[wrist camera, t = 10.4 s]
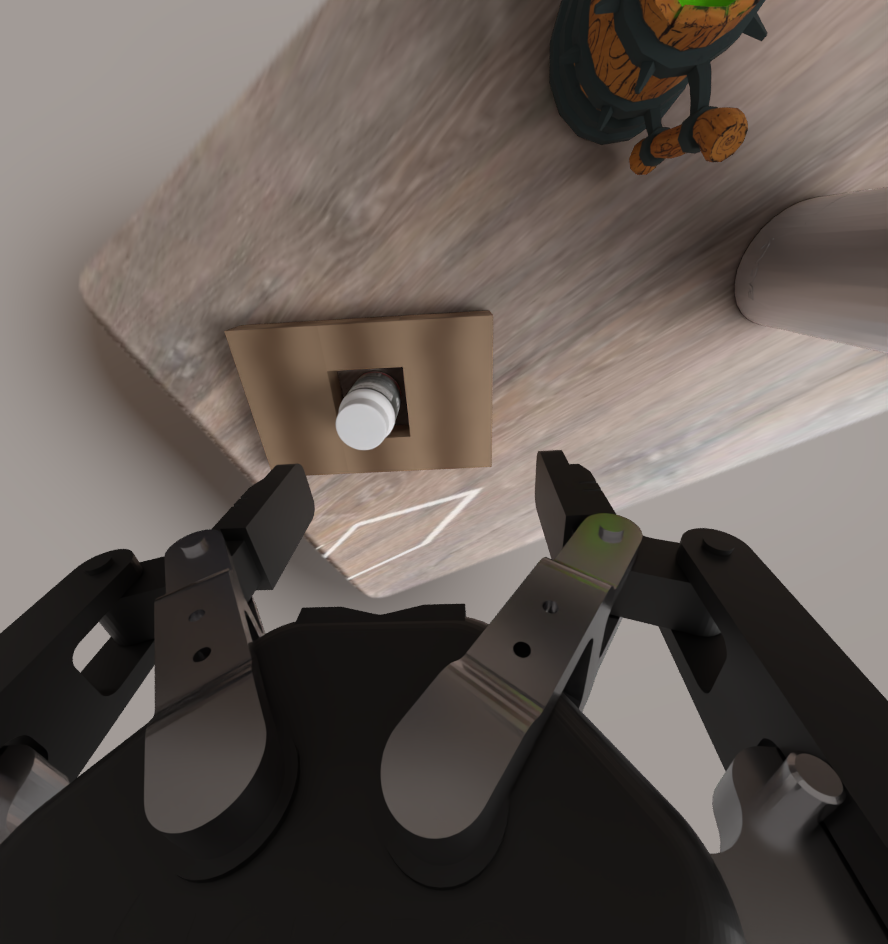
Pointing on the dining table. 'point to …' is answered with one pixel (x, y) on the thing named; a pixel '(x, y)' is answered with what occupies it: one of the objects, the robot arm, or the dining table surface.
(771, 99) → the dining table surface
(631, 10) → the mug
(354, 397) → the pill bottle
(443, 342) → the board
